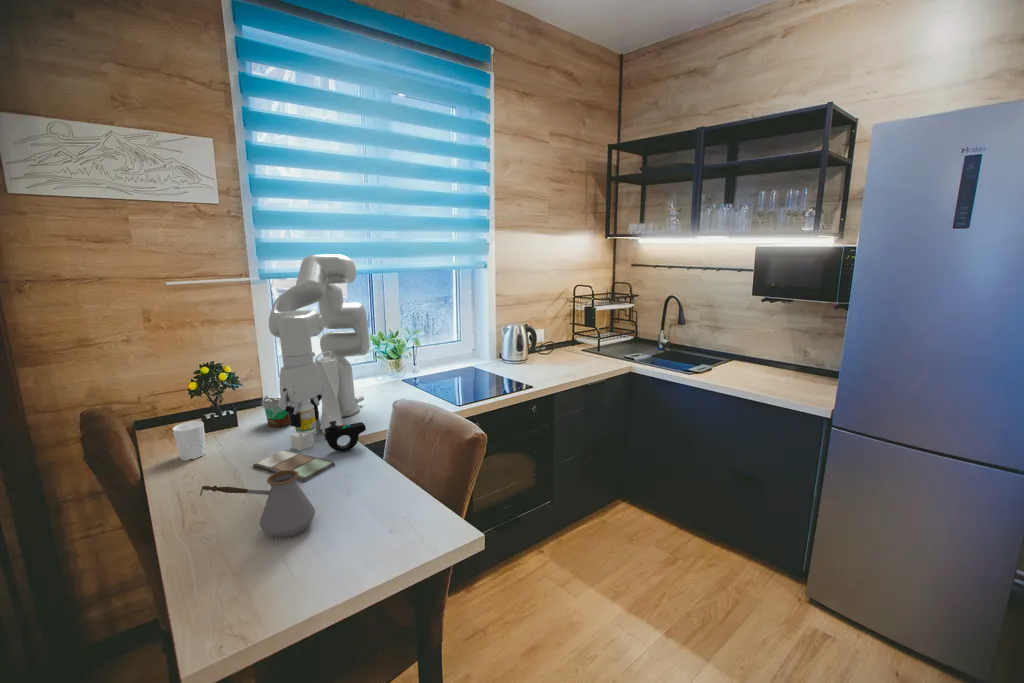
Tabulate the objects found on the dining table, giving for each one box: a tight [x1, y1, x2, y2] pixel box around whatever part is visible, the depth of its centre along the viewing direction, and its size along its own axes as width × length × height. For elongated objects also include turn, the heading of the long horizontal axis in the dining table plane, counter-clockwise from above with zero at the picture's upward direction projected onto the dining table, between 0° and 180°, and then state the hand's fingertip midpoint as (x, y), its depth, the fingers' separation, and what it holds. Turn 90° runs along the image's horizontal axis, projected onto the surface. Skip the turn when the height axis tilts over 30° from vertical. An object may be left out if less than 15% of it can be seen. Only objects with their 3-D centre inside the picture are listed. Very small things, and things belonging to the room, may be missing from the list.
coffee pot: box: [199, 470, 316, 539], centre depth 104 cm, size 21×12×15 cm, turn 121°
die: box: [289, 431, 314, 451], centre depth 152 cm, size 4×4×5 cm
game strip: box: [252, 449, 336, 483], centre depth 138 cm, size 11×21×1 cm, turn 64°
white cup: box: [172, 420, 207, 461], centre depth 146 cm, size 8×8×10 cm
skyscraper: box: [314, 351, 344, 436], centre depth 162 cm, size 8×8×28 cm
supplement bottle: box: [294, 399, 316, 434], centre depth 132 cm, size 5×5×10 cm
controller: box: [323, 421, 367, 453], centre depth 148 cm, size 4×12×10 cm, turn 116°
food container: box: [261, 395, 293, 429], centre depth 169 cm, size 12×6×10 cm, turn 73°
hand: (305, 422), depth 132 cm, fingers closed on supplement bottle, 5 cm apart
